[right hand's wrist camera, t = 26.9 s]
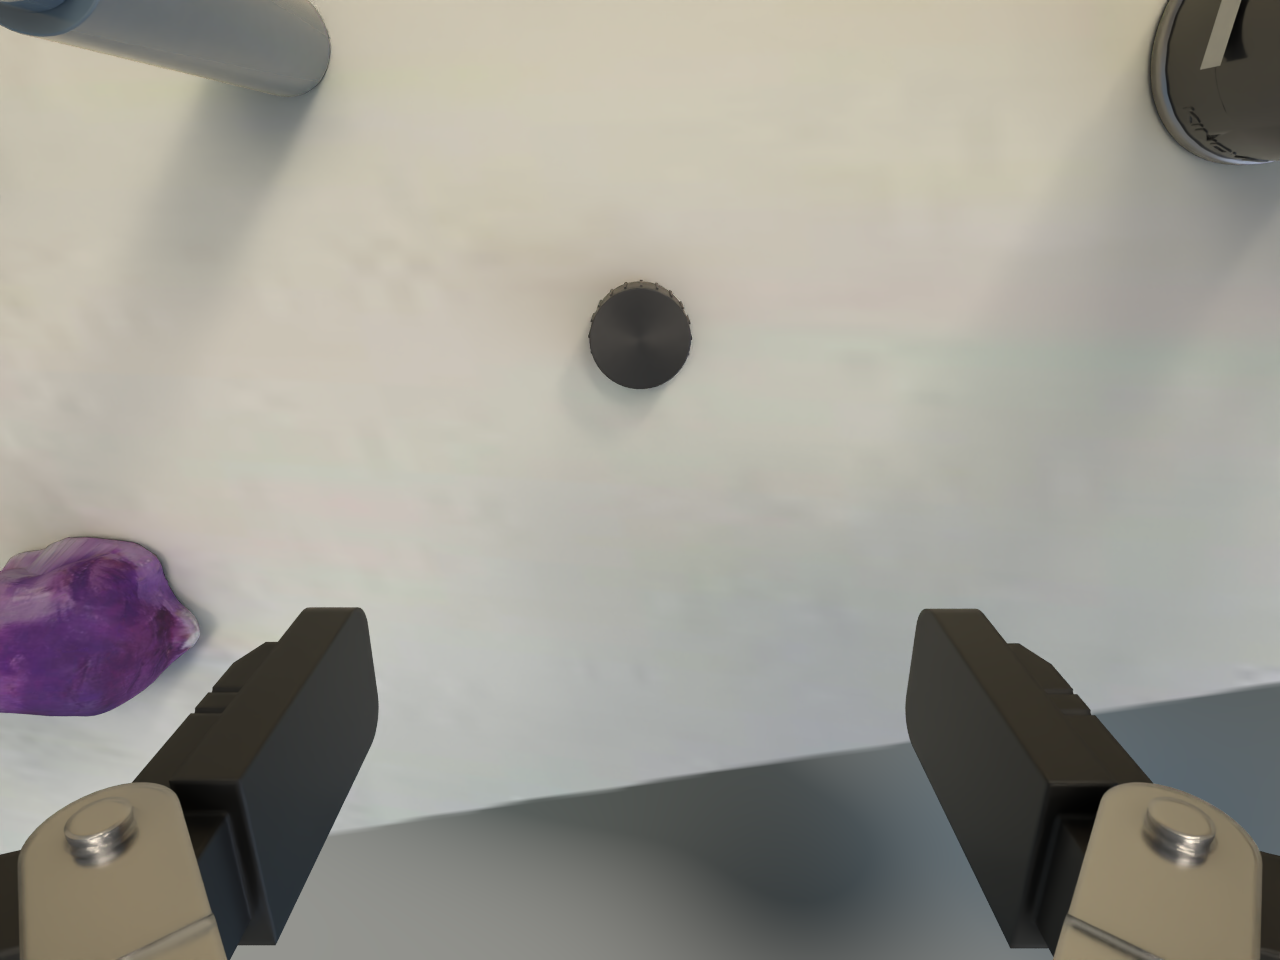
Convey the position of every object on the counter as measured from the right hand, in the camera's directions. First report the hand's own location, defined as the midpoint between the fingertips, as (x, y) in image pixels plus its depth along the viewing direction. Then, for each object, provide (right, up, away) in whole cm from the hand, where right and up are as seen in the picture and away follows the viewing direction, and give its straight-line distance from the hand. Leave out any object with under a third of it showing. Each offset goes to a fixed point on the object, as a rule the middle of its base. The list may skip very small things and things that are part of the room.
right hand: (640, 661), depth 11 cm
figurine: (-29, -4, +31) cm, 43 cm away
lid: (0, +9, +24) cm, 26 cm away
